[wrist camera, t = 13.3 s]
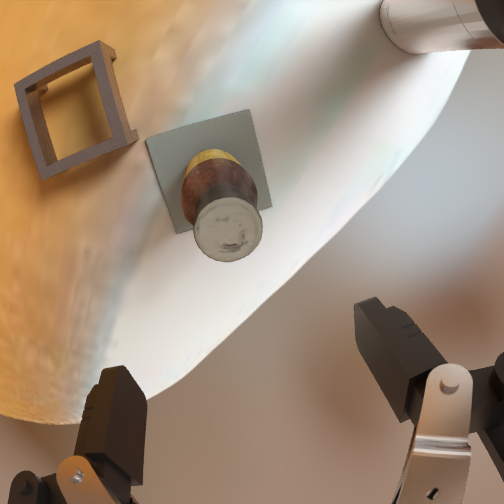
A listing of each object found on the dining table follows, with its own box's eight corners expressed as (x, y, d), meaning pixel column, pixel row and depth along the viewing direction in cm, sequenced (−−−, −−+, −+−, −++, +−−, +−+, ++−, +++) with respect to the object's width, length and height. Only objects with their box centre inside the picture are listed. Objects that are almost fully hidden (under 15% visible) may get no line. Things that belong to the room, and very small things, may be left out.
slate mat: (248, 109, 34) (249, 109, 34) (271, 205, 40) (272, 206, 39) (146, 139, 34) (145, 139, 34) (176, 232, 39) (176, 233, 39)
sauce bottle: (224, 207, 38) (248, 301, 21) (176, 186, 37) (155, 267, 19) (250, 158, 36) (300, 212, 19) (200, 135, 34) (200, 165, 17)
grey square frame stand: (114, 49, 29) (99, 40, 23) (139, 138, 34) (127, 144, 28) (38, 85, 28) (13, 84, 23) (62, 169, 33) (41, 180, 28)
